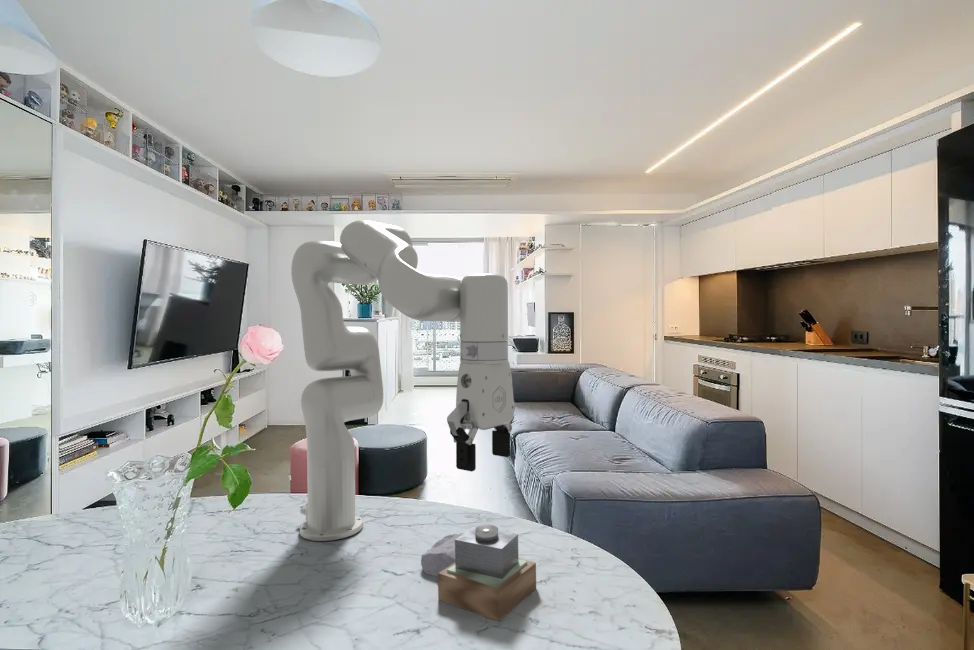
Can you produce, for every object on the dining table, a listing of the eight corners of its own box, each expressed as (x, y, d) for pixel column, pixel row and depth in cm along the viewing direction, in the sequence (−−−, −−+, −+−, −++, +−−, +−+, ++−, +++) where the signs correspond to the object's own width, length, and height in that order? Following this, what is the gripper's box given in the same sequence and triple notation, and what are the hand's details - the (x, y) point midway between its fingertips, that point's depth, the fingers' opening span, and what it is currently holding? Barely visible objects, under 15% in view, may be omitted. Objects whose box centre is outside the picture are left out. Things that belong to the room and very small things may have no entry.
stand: (438, 599, 78) (437, 570, 78) (479, 570, 87) (479, 544, 87) (498, 621, 72) (498, 589, 72) (536, 588, 81) (535, 560, 81)
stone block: (417, 584, 86) (469, 582, 83) (412, 555, 87) (464, 552, 83) (449, 558, 97) (496, 555, 94) (444, 532, 98) (491, 528, 94)
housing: (502, 579, 75) (501, 540, 75) (455, 568, 78) (454, 531, 78) (518, 562, 80) (517, 526, 80) (473, 552, 84) (473, 518, 84)
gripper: (471, 356, 70) (471, 480, 70) (532, 351, 85) (532, 454, 85) (429, 355, 75) (430, 471, 75) (494, 350, 89) (494, 448, 89)
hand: (484, 462), depth 80 cm, fingers open, 9 cm apart
